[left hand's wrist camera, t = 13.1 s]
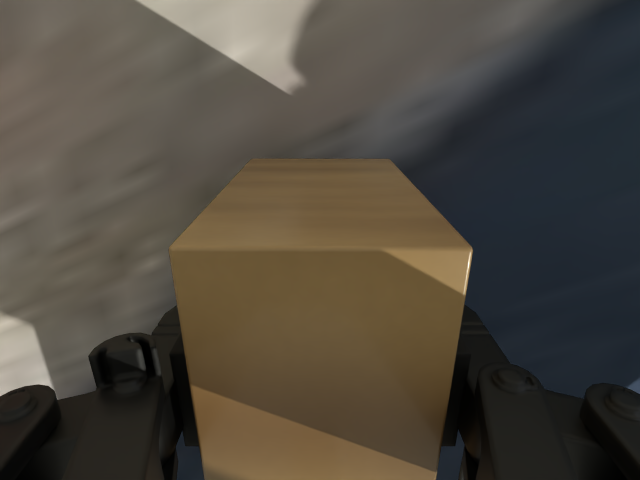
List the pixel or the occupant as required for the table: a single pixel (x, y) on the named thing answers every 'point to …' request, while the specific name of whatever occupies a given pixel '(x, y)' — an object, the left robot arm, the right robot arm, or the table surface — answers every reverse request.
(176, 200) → the table surface
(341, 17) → the table surface
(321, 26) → the table surface
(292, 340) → the beam
